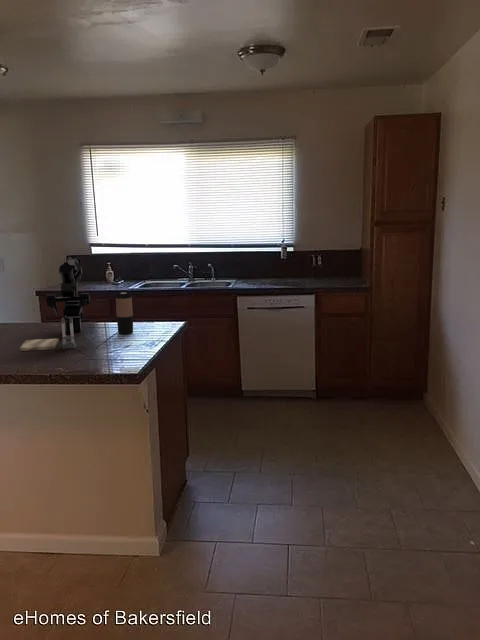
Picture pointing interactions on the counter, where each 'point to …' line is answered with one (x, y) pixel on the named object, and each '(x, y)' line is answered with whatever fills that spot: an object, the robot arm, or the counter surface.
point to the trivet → (39, 344)
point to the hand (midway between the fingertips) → (68, 315)
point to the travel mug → (124, 312)
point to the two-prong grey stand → (69, 343)
